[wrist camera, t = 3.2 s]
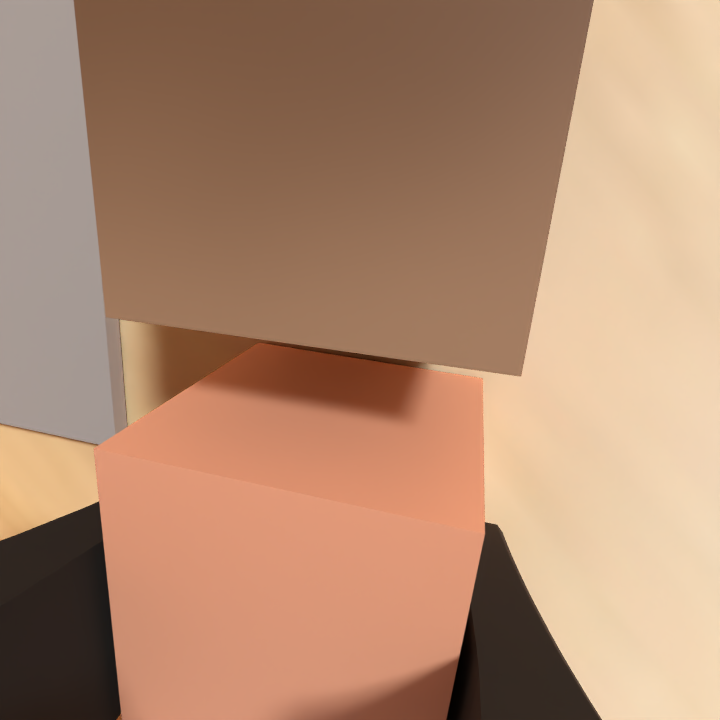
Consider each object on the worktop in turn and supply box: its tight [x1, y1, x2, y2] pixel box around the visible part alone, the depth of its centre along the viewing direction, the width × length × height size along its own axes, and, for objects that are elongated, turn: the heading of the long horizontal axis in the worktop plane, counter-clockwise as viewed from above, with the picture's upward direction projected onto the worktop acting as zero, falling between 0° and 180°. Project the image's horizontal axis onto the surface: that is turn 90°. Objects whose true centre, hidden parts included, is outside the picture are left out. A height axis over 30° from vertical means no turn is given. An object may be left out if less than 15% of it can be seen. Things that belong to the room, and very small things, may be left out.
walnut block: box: [74, 0, 594, 376], centre depth 6 cm, size 6×4×4 cm
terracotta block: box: [94, 343, 485, 720], centre depth 8 cm, size 6×4×4 cm
